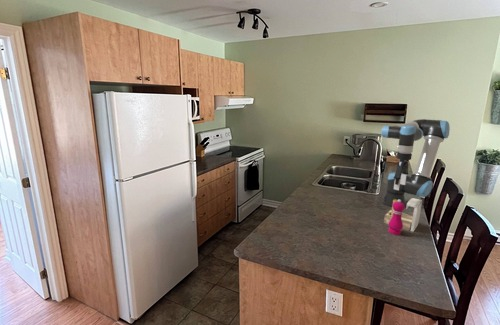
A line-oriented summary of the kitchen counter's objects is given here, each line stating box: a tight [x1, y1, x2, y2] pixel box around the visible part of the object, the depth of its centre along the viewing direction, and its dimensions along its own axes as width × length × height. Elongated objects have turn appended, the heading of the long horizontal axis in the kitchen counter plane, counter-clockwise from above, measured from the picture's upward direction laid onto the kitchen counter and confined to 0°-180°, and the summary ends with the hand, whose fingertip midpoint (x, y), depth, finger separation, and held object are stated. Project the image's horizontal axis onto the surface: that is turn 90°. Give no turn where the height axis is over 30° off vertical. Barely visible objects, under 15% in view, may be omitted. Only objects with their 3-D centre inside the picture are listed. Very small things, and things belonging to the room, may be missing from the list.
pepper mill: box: [387, 199, 406, 236], centre depth 151 cm, size 7×7×20 cm
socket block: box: [383, 209, 413, 231], centre depth 164 cm, size 12×14×5 cm
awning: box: [405, 197, 423, 233], centre depth 159 cm, size 12×6×16 cm, turn 137°
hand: (399, 187), depth 162 cm, fingers open, 13 cm apart
